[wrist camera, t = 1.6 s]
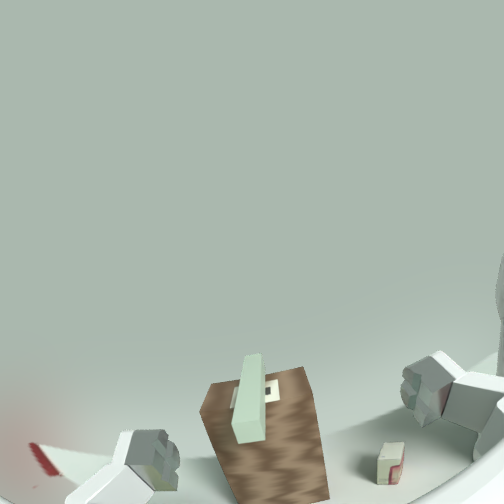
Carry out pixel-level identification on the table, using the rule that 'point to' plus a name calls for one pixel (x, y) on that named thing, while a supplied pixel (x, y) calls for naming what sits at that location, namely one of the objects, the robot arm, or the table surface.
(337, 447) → the table surface
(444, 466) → the table surface
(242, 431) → the bar
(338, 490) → the table surface
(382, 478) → the small box
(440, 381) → the robot arm
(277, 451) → the stand
